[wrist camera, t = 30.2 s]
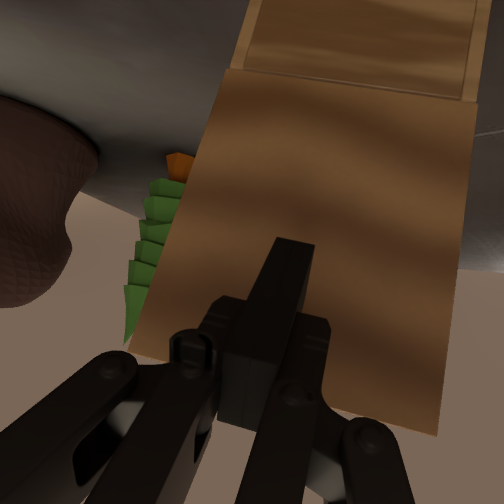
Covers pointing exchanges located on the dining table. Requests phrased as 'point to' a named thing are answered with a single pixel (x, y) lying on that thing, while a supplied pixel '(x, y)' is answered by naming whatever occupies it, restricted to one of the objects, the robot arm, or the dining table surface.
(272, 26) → the chest
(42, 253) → the vase
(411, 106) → the lid
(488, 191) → the dining table surface
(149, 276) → the decorative tree
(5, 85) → the dining table surface
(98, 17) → the dining table surface
